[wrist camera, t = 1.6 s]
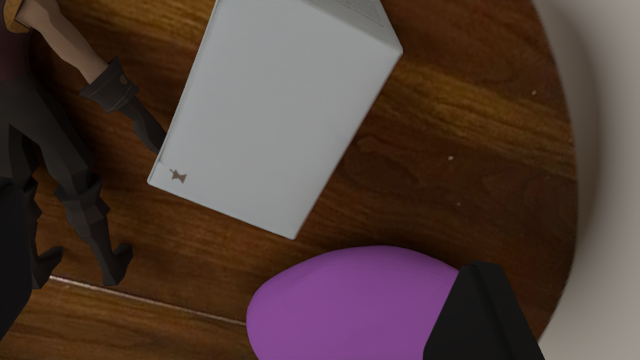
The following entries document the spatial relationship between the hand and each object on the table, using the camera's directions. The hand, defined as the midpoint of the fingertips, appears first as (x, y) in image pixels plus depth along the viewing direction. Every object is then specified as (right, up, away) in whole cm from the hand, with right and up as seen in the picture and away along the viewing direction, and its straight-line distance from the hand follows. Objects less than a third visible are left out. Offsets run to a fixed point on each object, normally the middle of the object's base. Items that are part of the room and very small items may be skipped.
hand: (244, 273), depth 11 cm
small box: (0, +9, +14) cm, 17 cm away
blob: (+4, -6, +23) cm, 24 cm away
